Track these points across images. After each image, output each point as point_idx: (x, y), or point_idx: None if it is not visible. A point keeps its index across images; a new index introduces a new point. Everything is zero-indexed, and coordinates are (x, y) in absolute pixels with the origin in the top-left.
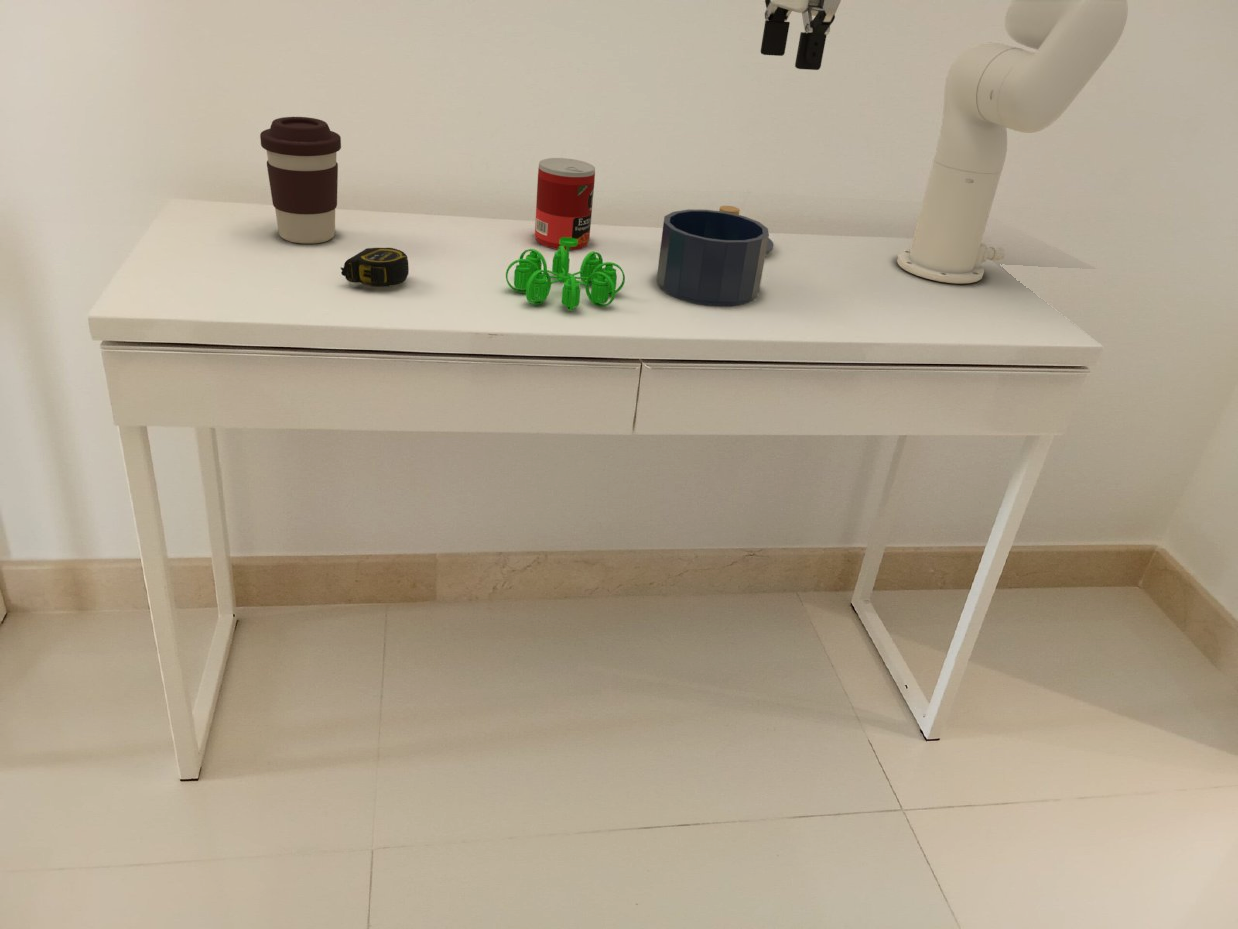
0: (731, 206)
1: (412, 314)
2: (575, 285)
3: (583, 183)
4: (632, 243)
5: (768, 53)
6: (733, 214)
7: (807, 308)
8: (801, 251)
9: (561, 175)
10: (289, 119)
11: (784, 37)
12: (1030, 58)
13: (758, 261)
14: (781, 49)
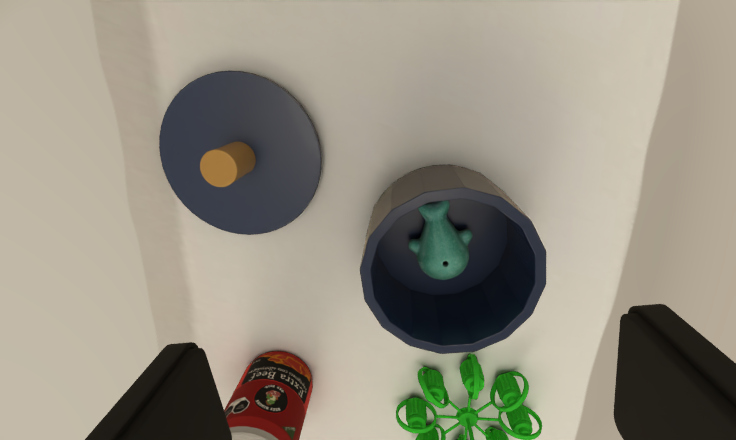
0: (204, 161)
1: None
2: (539, 432)
3: (287, 437)
4: (266, 293)
5: (225, 422)
6: (384, 228)
7: (526, 104)
8: (246, 11)
9: None
10: None
11: (152, 430)
12: None
13: (517, 206)
14: (196, 381)
